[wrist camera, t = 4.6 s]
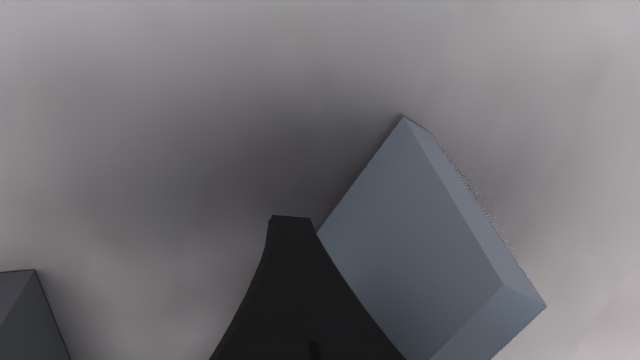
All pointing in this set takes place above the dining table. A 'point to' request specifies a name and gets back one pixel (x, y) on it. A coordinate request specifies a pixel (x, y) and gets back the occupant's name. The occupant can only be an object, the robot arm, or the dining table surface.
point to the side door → (427, 255)
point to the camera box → (27, 320)
